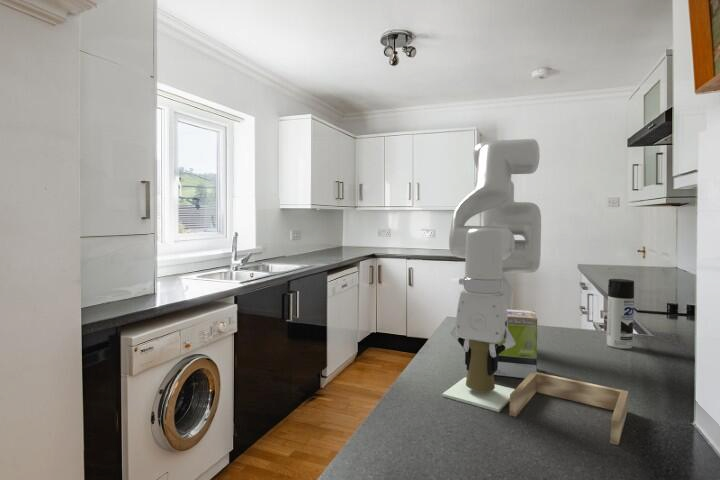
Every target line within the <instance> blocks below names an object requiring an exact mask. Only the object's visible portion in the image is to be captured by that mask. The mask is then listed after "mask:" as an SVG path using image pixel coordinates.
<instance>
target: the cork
mask: <svg viewBox="0 0 720 480" xmlns="http://www.w3.org/2000/svg"><path fill="white" fill-rule="evenodd" d="M489 346H490V345H489V343H485V342H479V341H474V340H469V347H470V348H471V357H470V364H469V370H467V373H466V374H467V375H466V377H467V379H466V386H467V387H468V388H470V389H473V390H476V391H491V390H493V389H495V375H493V374H492V375H491V376H489V375H488V371H487V363H488V356H490V349H489Z"/></svg>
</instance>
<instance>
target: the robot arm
mask: <svg viewBox="0 0 720 480" xmlns="http://www.w3.org/2000/svg"><path fill="white" fill-rule="evenodd" d="M540 157H541V156H540V146H539V143H538V141H537V140H536V139H535V138H522V139H518V138H517V139H499V140H498V139H497V140H487V141H483V142H479V143H477V144H476V146H474V148H473V160H474V161H473V162H474V164H475V165H474V166H475V168H476V174H475V182H474V189H473V191H471V192H470V193H469V194H467V195H466V196H465V197H464V198H462V200H461V201H460V203H459V204H458V205H457V207H456V208H455V209H454V211H453V213H452V217H451V222H450V229H449V236H448V237H449V238H448V248H449V252H450V253H451V254H452V255H453V257H456V258H458V259H459V258H460V259H464V260H465V264H464V265H465V267H464V270H465V271H464V273H465V274H464V277H463V278H459V280H458V285H462V286H463V289H464V290H461V291H460V294H459V298H458V303H457V309H456V319H455V326H453V328H452V330H451V331H450V336H452V338H453V339H455V340H456V341H457V342H458V344H460V345H461V347H462V349H463V352H464V353H465V355H464V357H465V358H464V365H466V371H468V370H469V364H470V357H471V348H470V347H469V340H474V341H479V342H485V343H489V345H490V346H489V349H490V356H488V363H487V371H488V375H489V376H491V375H492V374H494V373H495V371H497V369H498V354H500V353H501V352H502V351H504V350H506V349H508V348H511V347H513V346H514V345H515V344H516V343H515V341H514V339H513V337H512V335H511V334H510V332H509V330H508V314H507V309H511V310H513V304H514V303H513V300H514V299H513V298H514V295H513V294H514V287H513V284H512V282H511V281H510V279H509V278H508V277H507V276H506V275H505V274H504V273H519V274H520V273H523V274H533V273H536V272H537V271H538V270H539V268H540V265H541V252H542V249H541V248H542V247H541V246H542V245H541V244H542V214H541V209H540V207H539V205H537V204H536V203H534V202H531V201H530V202H529V201H528V202H526V201H522V202H521V201H520V202H519V201H518V202H517V201H516V202H515V185H514V183H513V180H512V175H531V174H534V173H535V172H536V171H538V170H537V169H538V168H539V163H540ZM480 213H483V214H482V219H483V222H482V223H483V225H466V223H467V222H468V221H469V220H470V219H471V218H473V217H475V216H476V215H478V214H480ZM515 236H522V237H523V238H524V239H516V238H515ZM504 339H505V341H506V342H505V343H503V344H501V345H500V346H499V343H501V342H502V341H503V340H504Z"/></svg>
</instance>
